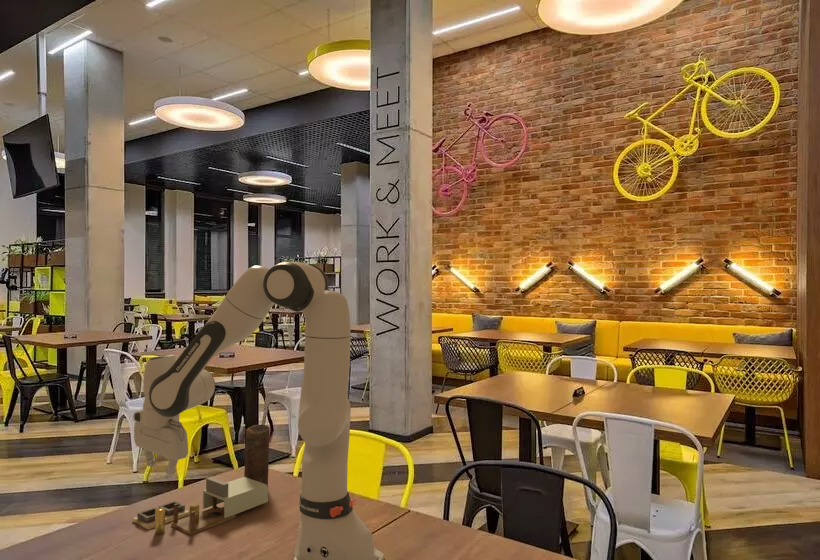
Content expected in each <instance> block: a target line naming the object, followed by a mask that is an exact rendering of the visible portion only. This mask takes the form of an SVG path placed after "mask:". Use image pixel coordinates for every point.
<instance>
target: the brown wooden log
mask: <svg viewBox="0 0 820 560" xmlns="http://www.w3.org/2000/svg"><path fill="white" fill-rule="evenodd" d="M244 447H245V449H244V451H245V453H244V472H243V475H244V476H243V477H246V478H249V479H252V480H255V481H258V482H261V483H264V484H266V485H267V486H268V487H269V459H270V426H268V425H267V424H254V425H252V426H249V427H248V428H247V429H246V430H245V446H244Z"/></svg>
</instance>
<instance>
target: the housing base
mask: <svg viewBox="0 0 820 560" xmlns="http://www.w3.org/2000/svg"><path fill="white" fill-rule="evenodd" d="M217 505H218V504H217V498H216V497H214V496H213V506H212V508H211V507H210V508H209V509H208V508H207V509H206V510H205V509H204V510H203V511H200V504H198V503H193V504H191V505H189V511H190V515H188V516H185V517H182V518H179V519H178V504H177V503H176V504H174V519H173V521H171V522H170V526H171V527H173V528H175V529H177V530H179V531H181V532H183V533H184V534H187V535H189V536H191V535H194V534H196V533H199V532H202V531H205V530H207V529H209V528H212V527H215V526H217V525H221V524H222V523H225V522H228V521H230V520H233V519H235V518H237V514H235V515H232V516H230V517H227V518H224V508H221V507H220V506H217Z"/></svg>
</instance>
